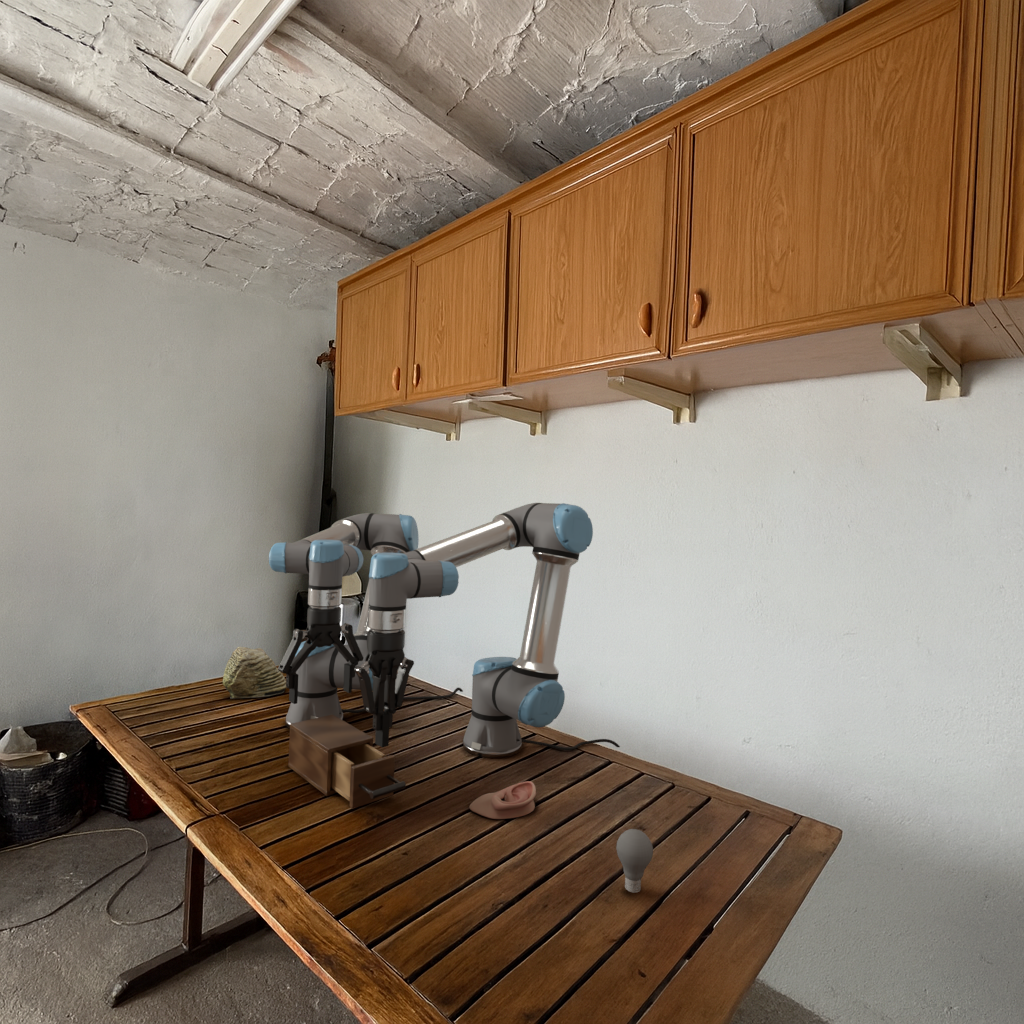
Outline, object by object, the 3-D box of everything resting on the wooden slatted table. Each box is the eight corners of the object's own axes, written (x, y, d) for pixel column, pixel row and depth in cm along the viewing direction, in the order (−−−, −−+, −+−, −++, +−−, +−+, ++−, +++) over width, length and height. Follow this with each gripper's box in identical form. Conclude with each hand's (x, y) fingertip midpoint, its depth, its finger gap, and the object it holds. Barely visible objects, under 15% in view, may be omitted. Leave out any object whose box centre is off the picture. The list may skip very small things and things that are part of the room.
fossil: (218, 695, 195) (220, 647, 195) (278, 685, 208) (279, 640, 207) (228, 703, 189) (230, 653, 188) (289, 692, 201) (290, 645, 201)
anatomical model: (465, 795, 128) (479, 772, 140) (464, 815, 128) (479, 790, 140) (530, 804, 126) (539, 780, 137) (529, 824, 126) (538, 798, 137)
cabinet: (371, 782, 142) (373, 737, 141) (326, 796, 134) (328, 749, 134) (331, 755, 155) (332, 714, 155) (288, 766, 148) (289, 723, 148)
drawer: (409, 805, 130) (410, 766, 130) (367, 820, 123) (369, 778, 123) (351, 766, 147) (352, 731, 147) (312, 778, 140) (313, 741, 140)
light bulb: (610, 879, 108) (613, 822, 108) (644, 879, 109) (647, 822, 109) (619, 902, 102) (622, 840, 102) (655, 901, 103) (658, 840, 103)
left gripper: (279, 613, 136) (275, 711, 137) (379, 604, 154) (376, 691, 154) (265, 608, 142) (261, 702, 142) (363, 599, 159) (360, 683, 159)
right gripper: (367, 636, 121) (362, 758, 122) (423, 629, 130) (418, 742, 131) (348, 629, 127) (343, 746, 127) (403, 622, 136) (398, 732, 136)
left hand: (321, 696), depth 148 cm, fingers open, 13 cm apart
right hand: (381, 744), depth 129 cm, fingers closed
